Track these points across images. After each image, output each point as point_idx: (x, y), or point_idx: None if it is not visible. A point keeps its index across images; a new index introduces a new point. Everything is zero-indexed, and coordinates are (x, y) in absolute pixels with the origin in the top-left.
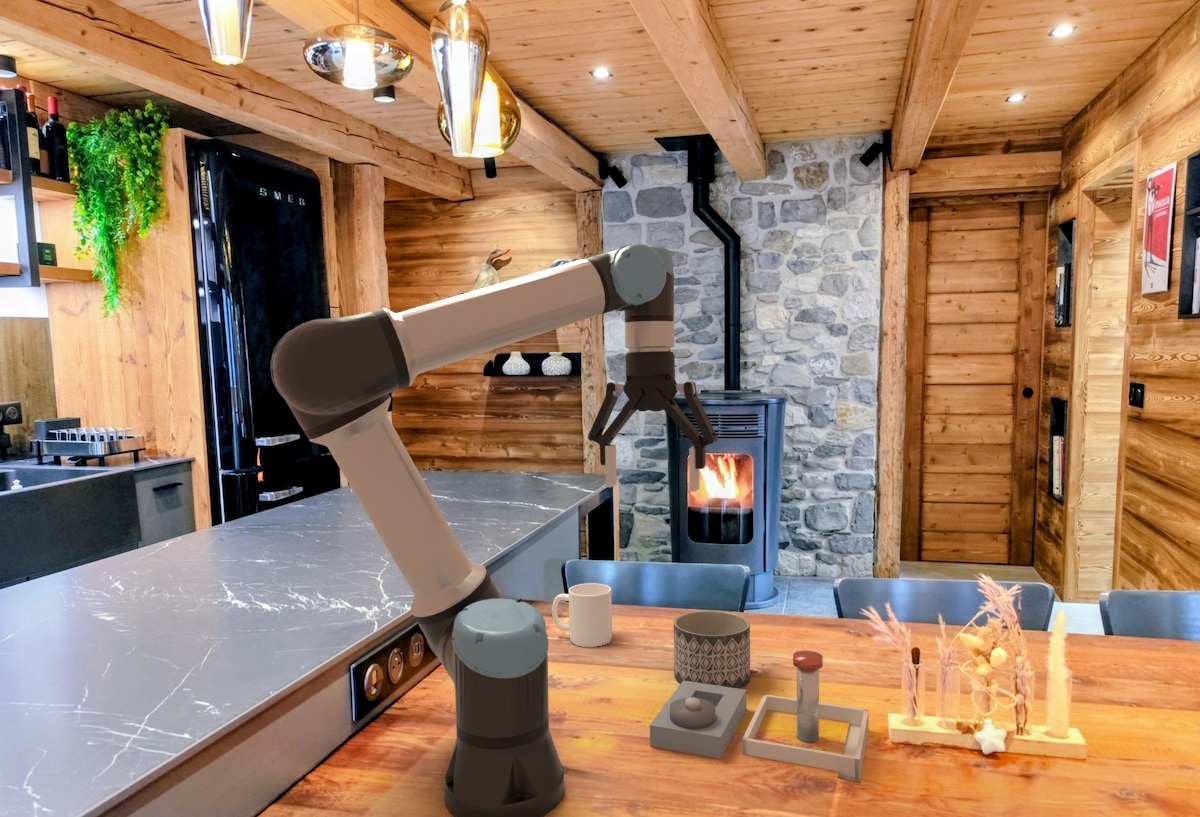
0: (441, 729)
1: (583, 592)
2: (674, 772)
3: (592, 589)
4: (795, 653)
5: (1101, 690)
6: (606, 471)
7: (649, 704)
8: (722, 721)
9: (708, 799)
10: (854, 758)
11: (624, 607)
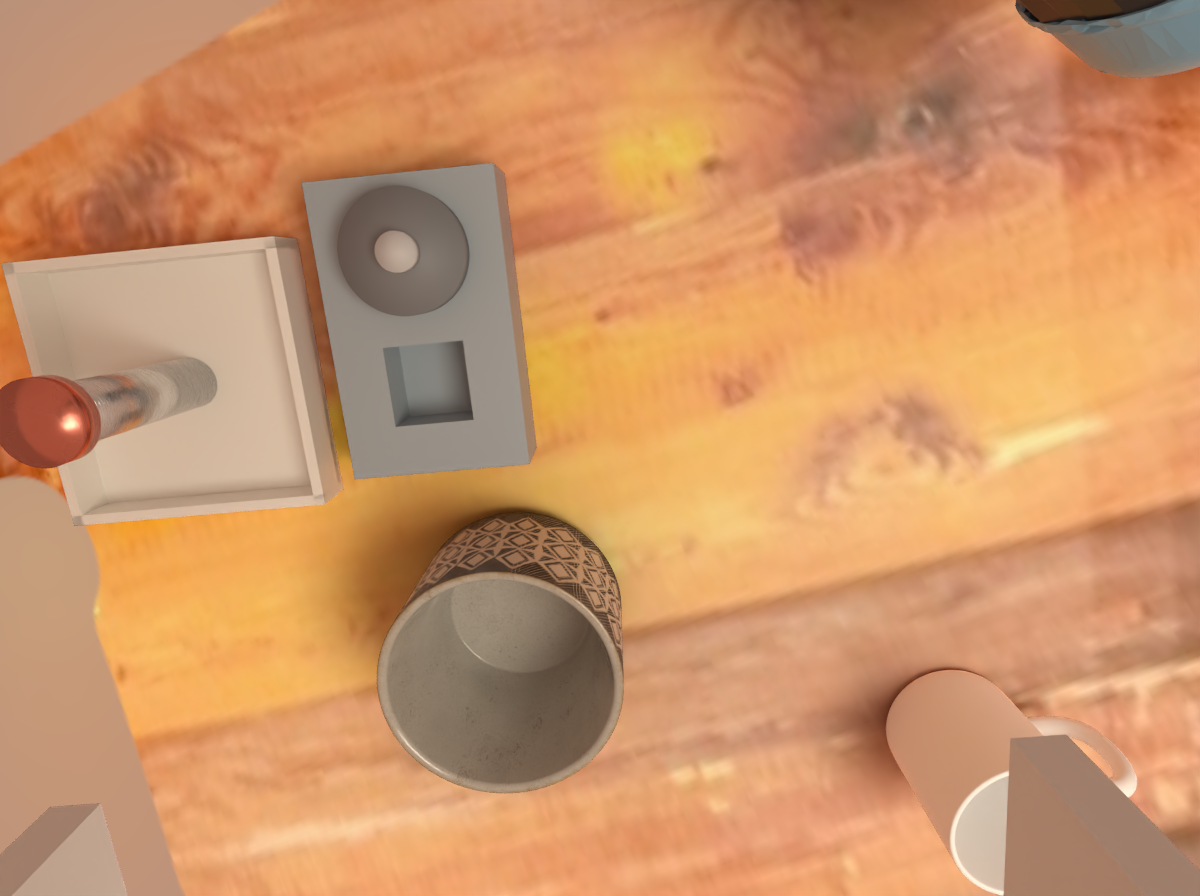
0: None
1: None
2: (413, 112)
3: None
4: (77, 428)
5: None
6: (1196, 881)
7: (617, 415)
8: (333, 271)
9: (294, 33)
10: (13, 263)
11: None
